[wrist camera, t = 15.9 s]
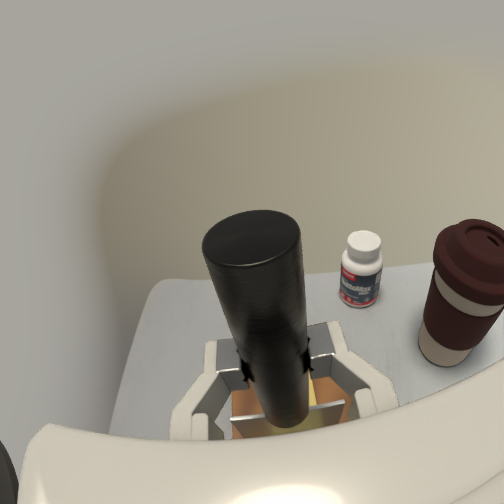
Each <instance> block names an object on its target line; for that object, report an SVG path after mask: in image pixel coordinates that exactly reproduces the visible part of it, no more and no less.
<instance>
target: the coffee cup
mask: <svg viewBox="0 0 504 504" xmlns="http://www.w3.org/2000/svg"><path fill="white" fill-rule="evenodd" d="M433 262H434V265H435V268H434V271H433V274H432V279H431V284H430V288H429V292H428V296H427V300H426V304H425V308H424V314H423V322H422V325H421V328H420V332H419V345H420V349H421V351H422V352H423V354H424V355H425V357H426V358H427V359H428V360H430V361H431V362H433V363H434V364H437V365H440V366H453V365H456V364H458V363H460V362H461V361H463V360H464V359H465V358H466V356H467V355H468V354H469V353H470V352H471V350H472V349H473V348H474V347H475V346H476V345H478V344H479V342H480V341H481V340H482V339H483V338H484V336H485V335H486V334H487V332H488V331H489V330H490V328H491V327H492V325H493V324H494V323H495V321H496V320H497V318H498V317H499V315H500V314H501V312H502V311H503V309H504V230H502V229H501V228H500V227H498V226H496V225H494V224H492V223H490V222H487V221H484V220H478V219H467V220H464V221H462V222H460V223H459V224H456V225H452V226H449V227H447V228H445V229H444V230H442V231H441V232H440V233H439V235H438V236H437V239H436V242H435V247H434V251H433Z"/></svg>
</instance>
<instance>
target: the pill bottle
mask: <svg viewBox="0 0 504 504" xmlns="http://www.w3.org/2000/svg"><path fill="white" fill-rule="evenodd" d="M380 247H381V240H380V238H379V237H378V235H376V234H375V233H373V232H370V231H357V232H353V233H352V234H350V235H349V237H348V240H347V249H346V250H345V251H344V252H343V254H342V258H341V278H340V296H341V298H342V300H343V301H344V302H345V303H346V304H348V305H350V306H353V307H359V308H361V307H367V306H369V305H371V304H372V303H373V302H374V301H375V300H376V298H377V296H378V291H379V285H380V279H381V274H382V268H383V257H382V254H381V253H380Z"/></svg>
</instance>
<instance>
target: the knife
mask: <svg viewBox="0 0 504 504" xmlns="http://www.w3.org/2000/svg"><path fill="white" fill-rule="evenodd" d="M202 253H203V255H204V258H205V261H206V264H207V267H208V270H209V273H210V276H211V279H212V281H213V284H214V287H215V290H216V293H217V295H218V298H219V301H220V304H221V306H222V309H223V312H224V315H225V317H226V320H227V323H228V325H229V328H230V331H231V333H232V336H233V338H234V341H235V344H236V346H237V349H238V351H239V354H240V356H241V359H242V361H243V364H244V366H245V369H246V371H247V374H248V376H249V379H250V381H251V384H252V386H253V389H254V391H255V393H256V396H257V398H258V401H259V403H260V405H261V408H262V410H263V412H264V414H255V415H245V416H234V417H230V422H231V423H232V424H233V425H234V427H235V428H236V429H237V430H238V432H239V433H240V434H241V435H242V437H243V438H244V439H245V438H256V437H265V436H274V435H281V434H288V433H295V432H301V431H307V430H312V429H317V428H322V427H327V426H332V425H336V424H339V421H340V418H341V415H342V412H343V408H344V405H345V400H344V399H342V400H338V401H334V402H329V403H324V404H319V405H314V406H309V369H308V337H307V316H306V298H305V282H304V269H303V257H302V256H303V255H302V243H301V232H300V228H299V226H298V224H297V222H296V221H295V220H294V219H293V218H292V217H290V216H289V215H287V214H284V213H281V212H277V211H272V210H252V211H246V212H242V213H238V214H235V215H232V216H230V217H227V218H225V219H224V220H221V221H220V222H218V223H217V224H215V225H214V226H213V227H212V228H211V229H210V230H209V231H208V232H207V233H206V235H205V237H204V239H203V242H202Z"/></svg>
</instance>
